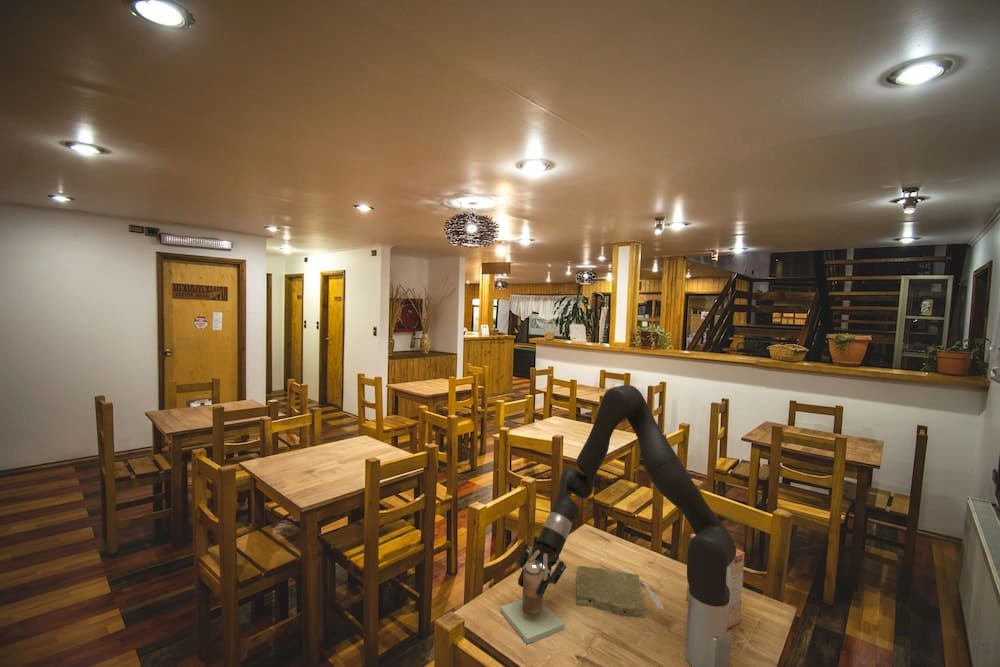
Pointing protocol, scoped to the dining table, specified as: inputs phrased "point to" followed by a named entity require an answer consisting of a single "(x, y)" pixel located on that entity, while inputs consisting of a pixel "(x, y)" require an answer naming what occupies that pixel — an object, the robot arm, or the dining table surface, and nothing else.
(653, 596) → the butter knife
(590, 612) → the dining table surface
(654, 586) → the dining table surface
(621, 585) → the decorative tile
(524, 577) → the pepper mill
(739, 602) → the cracker box
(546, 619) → the serving board
